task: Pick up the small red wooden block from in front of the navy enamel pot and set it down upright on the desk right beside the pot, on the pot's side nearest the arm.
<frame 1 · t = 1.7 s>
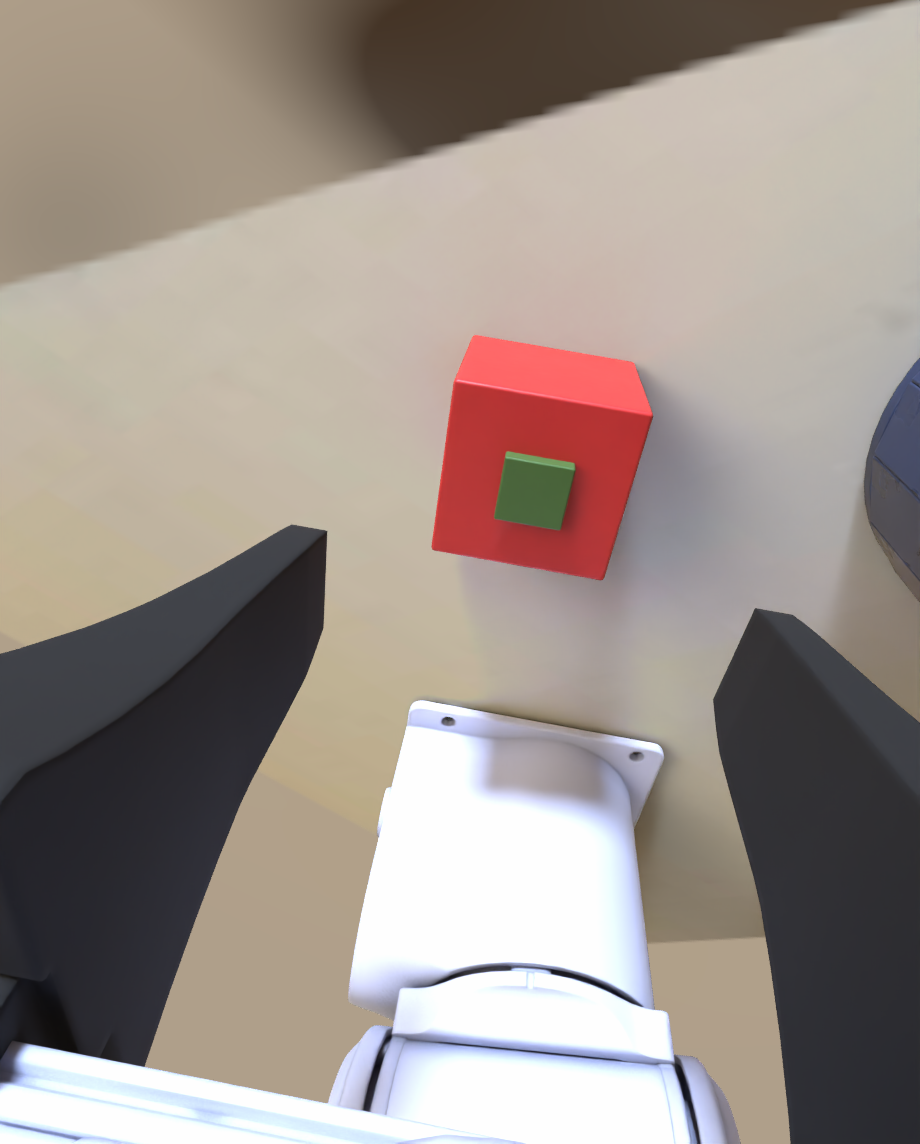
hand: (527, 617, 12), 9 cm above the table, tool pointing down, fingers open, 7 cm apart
block: (537, 425, 20), on the table
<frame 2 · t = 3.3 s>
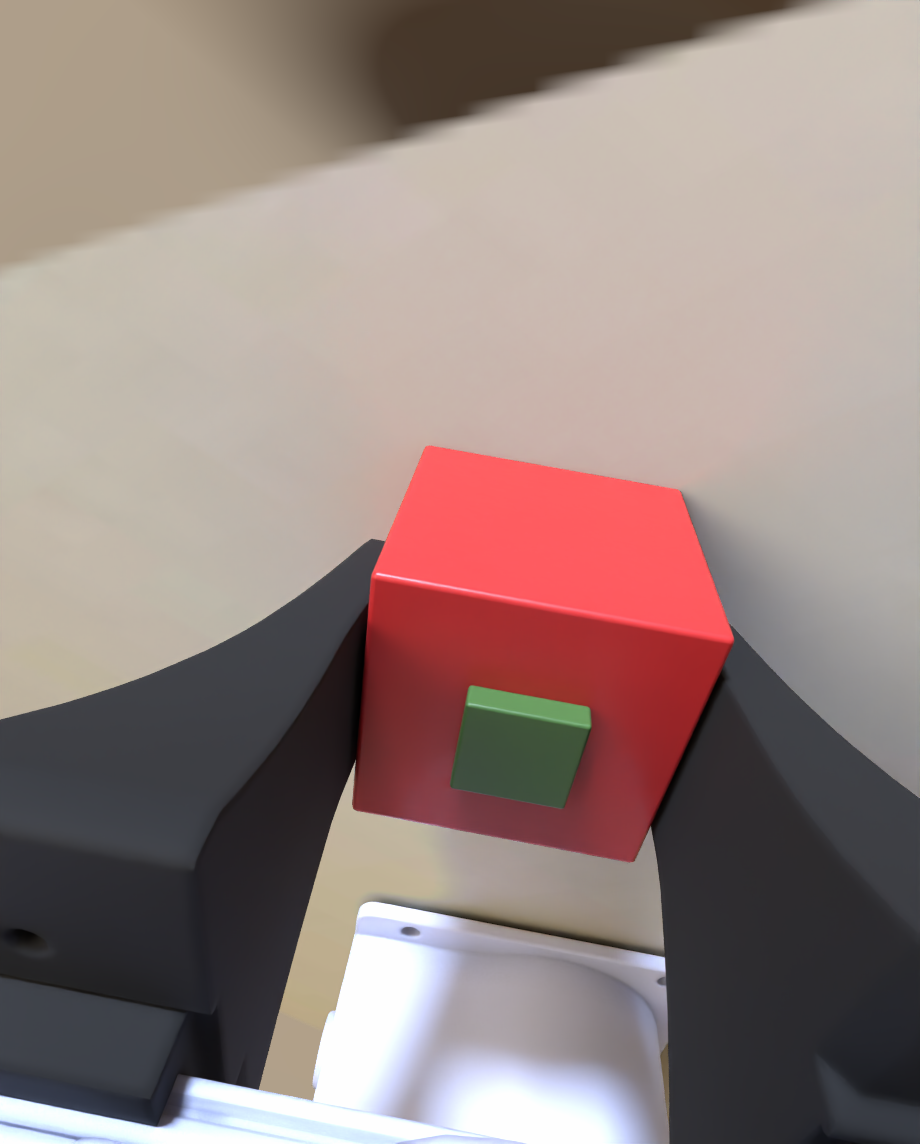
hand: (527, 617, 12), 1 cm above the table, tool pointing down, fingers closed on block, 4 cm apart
block: (528, 573, 13), on the table, touching gripper
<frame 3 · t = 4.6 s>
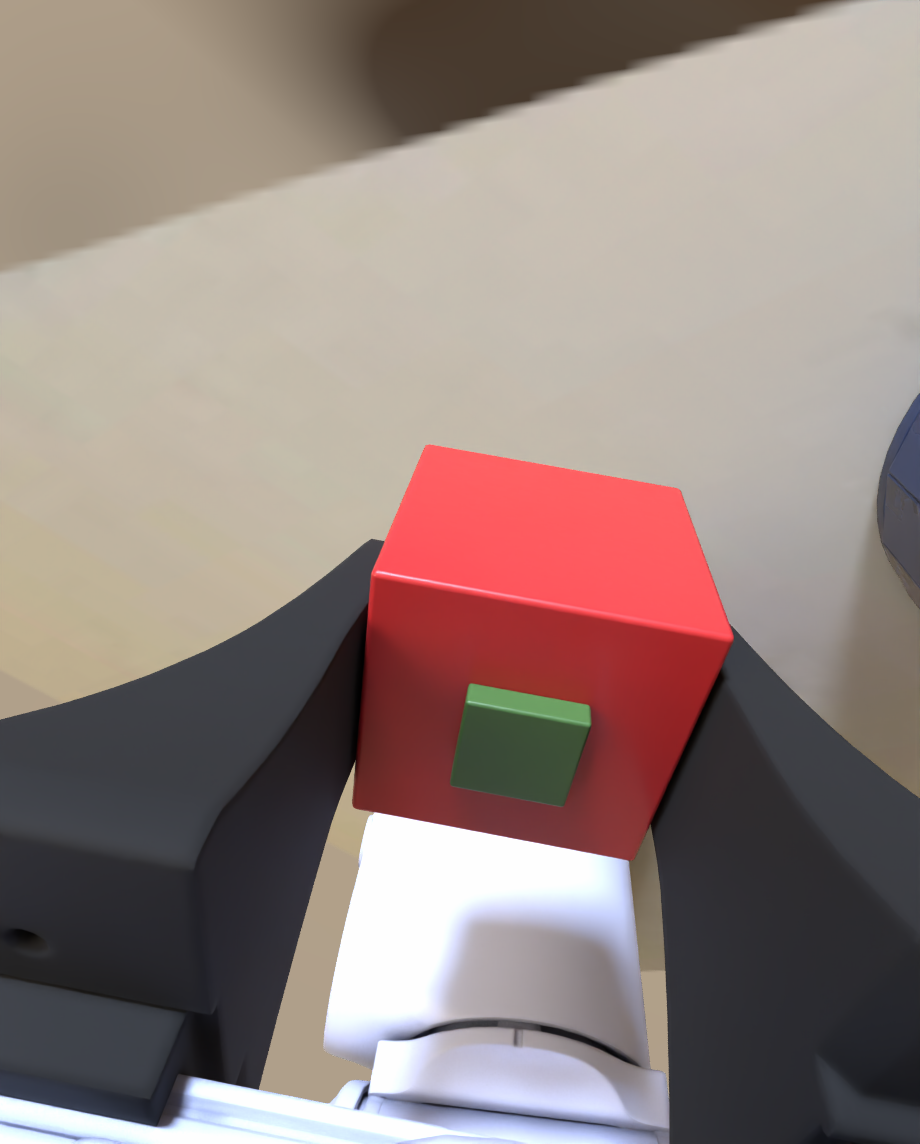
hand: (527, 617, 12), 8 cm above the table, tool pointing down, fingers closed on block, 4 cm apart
block: (528, 572, 13), point 6 cm above the table, touching gripper
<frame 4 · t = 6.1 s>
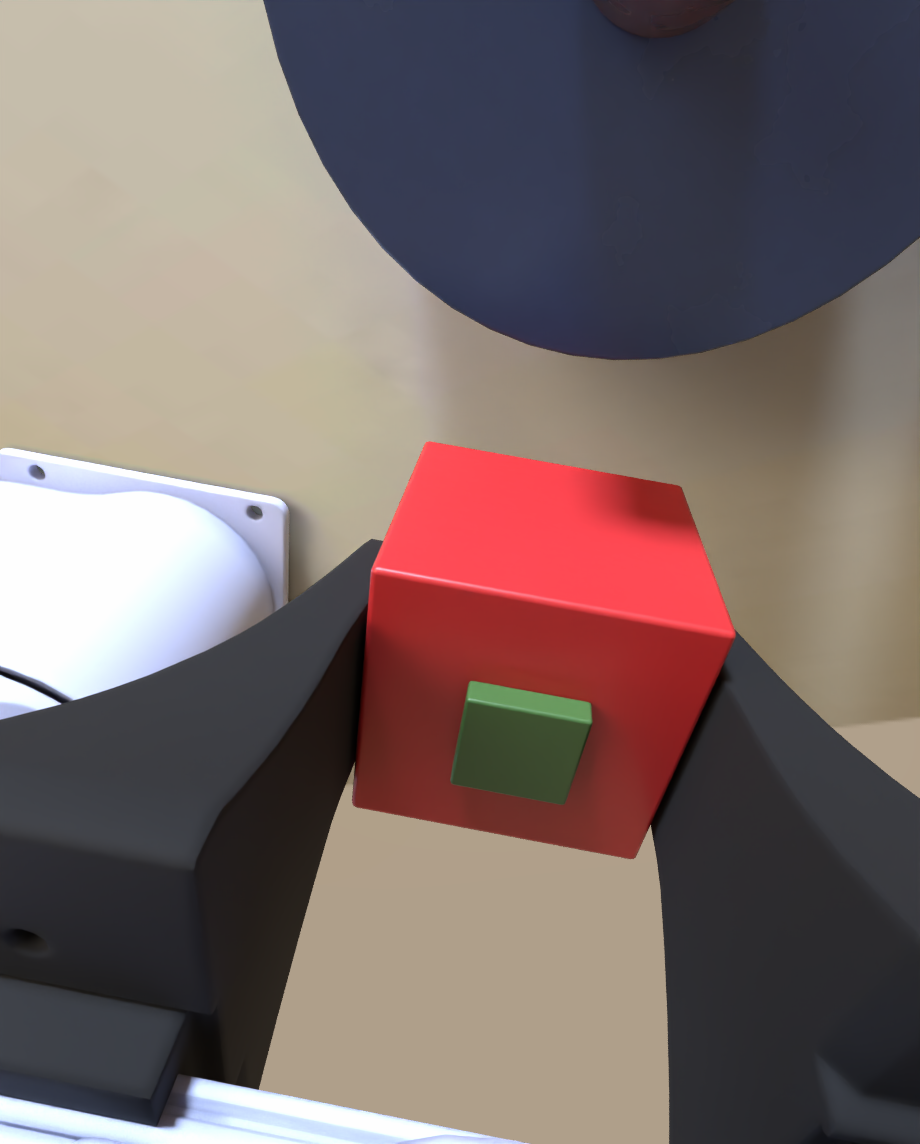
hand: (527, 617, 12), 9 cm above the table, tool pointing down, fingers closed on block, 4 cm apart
block: (528, 569, 13), point 8 cm above the table, touching gripper
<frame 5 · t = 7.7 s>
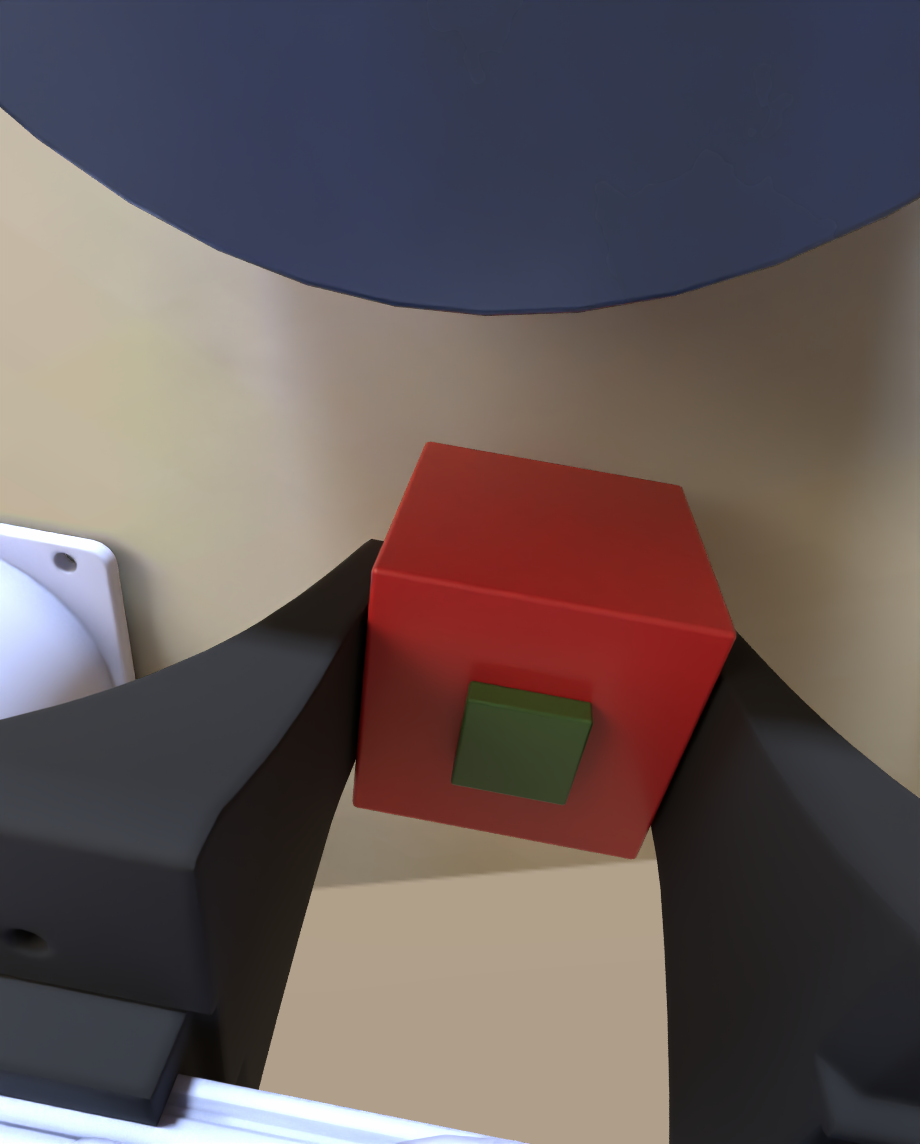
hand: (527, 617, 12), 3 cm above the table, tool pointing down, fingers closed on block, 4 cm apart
block: (528, 570, 13), point 2 cm above the table, touching gripper
when the fingers open (1 cm above the table, at t = 8.7 s): block stays where it is, on the table.
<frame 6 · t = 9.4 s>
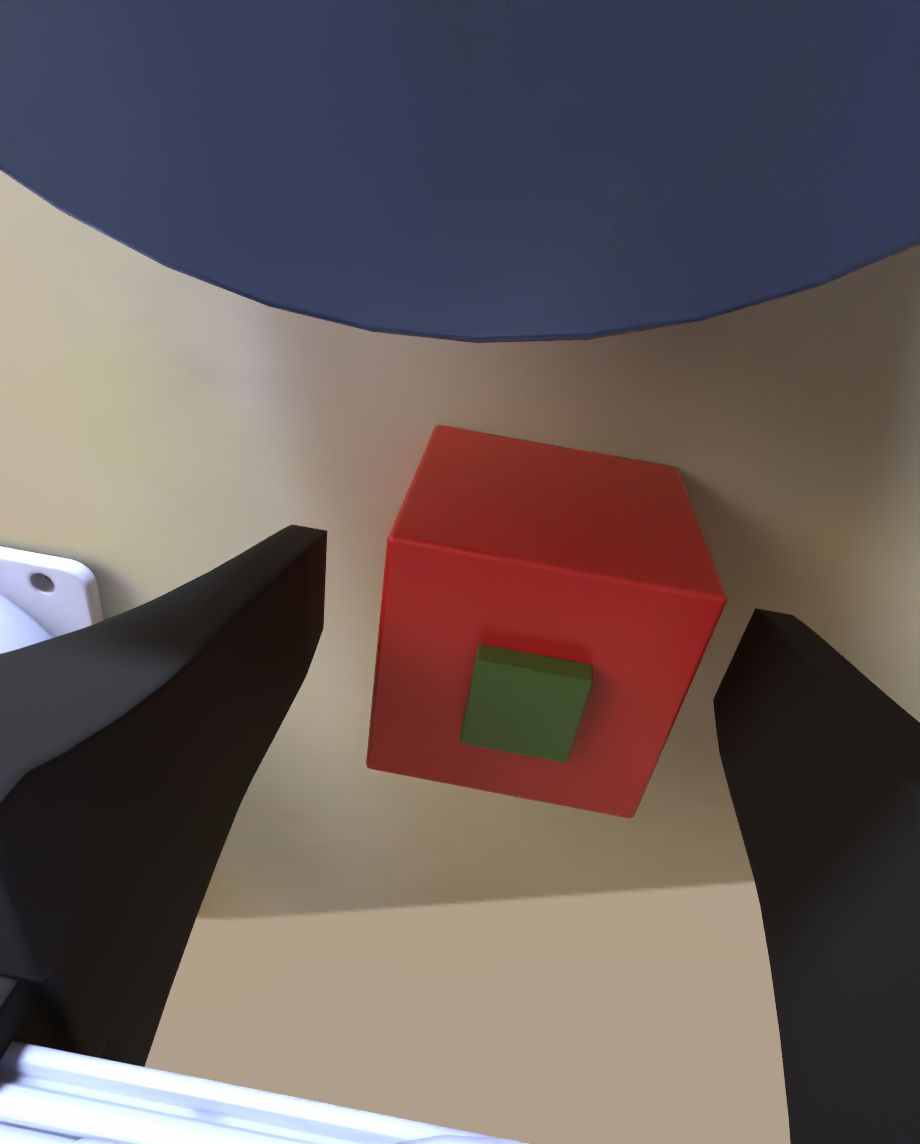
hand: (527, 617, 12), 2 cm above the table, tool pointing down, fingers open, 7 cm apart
block: (532, 549, 13), on the table
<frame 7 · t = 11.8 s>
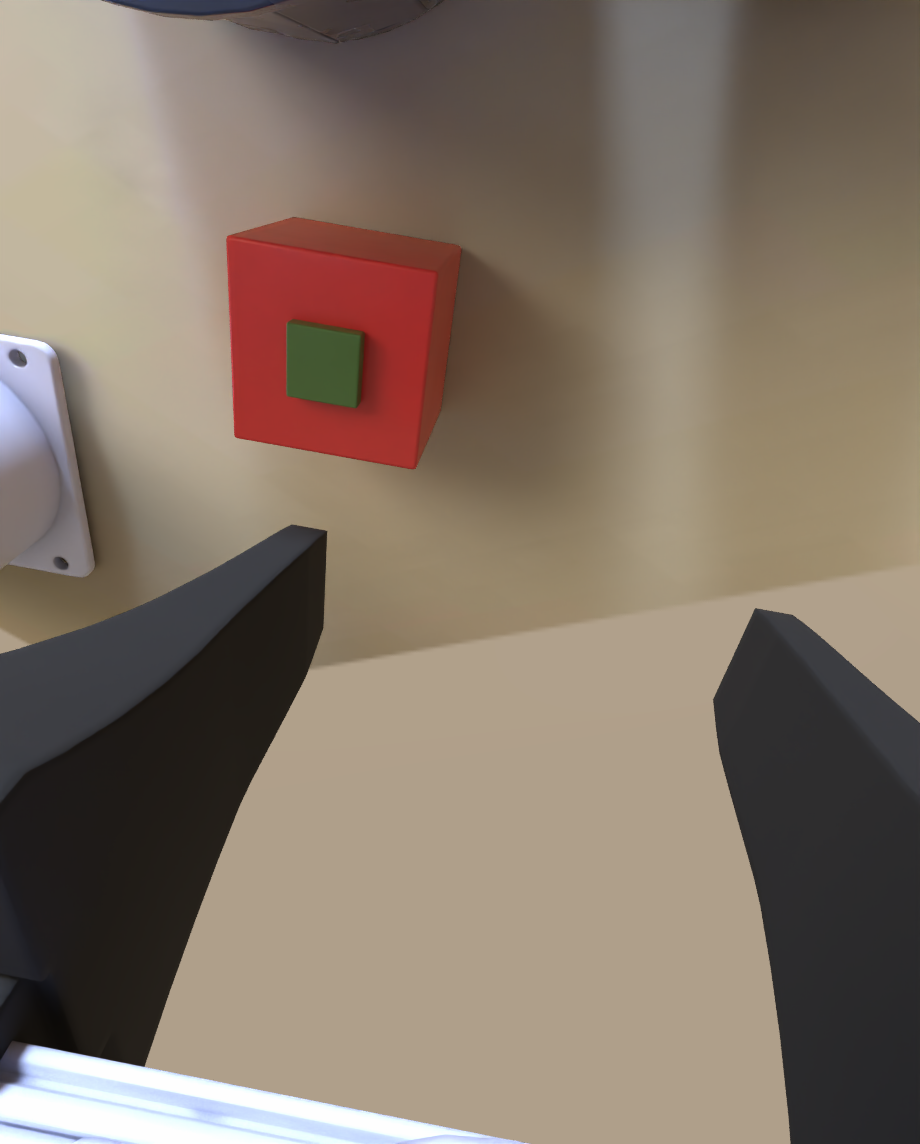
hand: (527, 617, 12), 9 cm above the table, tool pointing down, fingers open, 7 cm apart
block: (370, 320, 19), on the table
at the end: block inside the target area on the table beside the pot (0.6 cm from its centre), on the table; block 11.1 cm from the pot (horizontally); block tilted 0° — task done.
